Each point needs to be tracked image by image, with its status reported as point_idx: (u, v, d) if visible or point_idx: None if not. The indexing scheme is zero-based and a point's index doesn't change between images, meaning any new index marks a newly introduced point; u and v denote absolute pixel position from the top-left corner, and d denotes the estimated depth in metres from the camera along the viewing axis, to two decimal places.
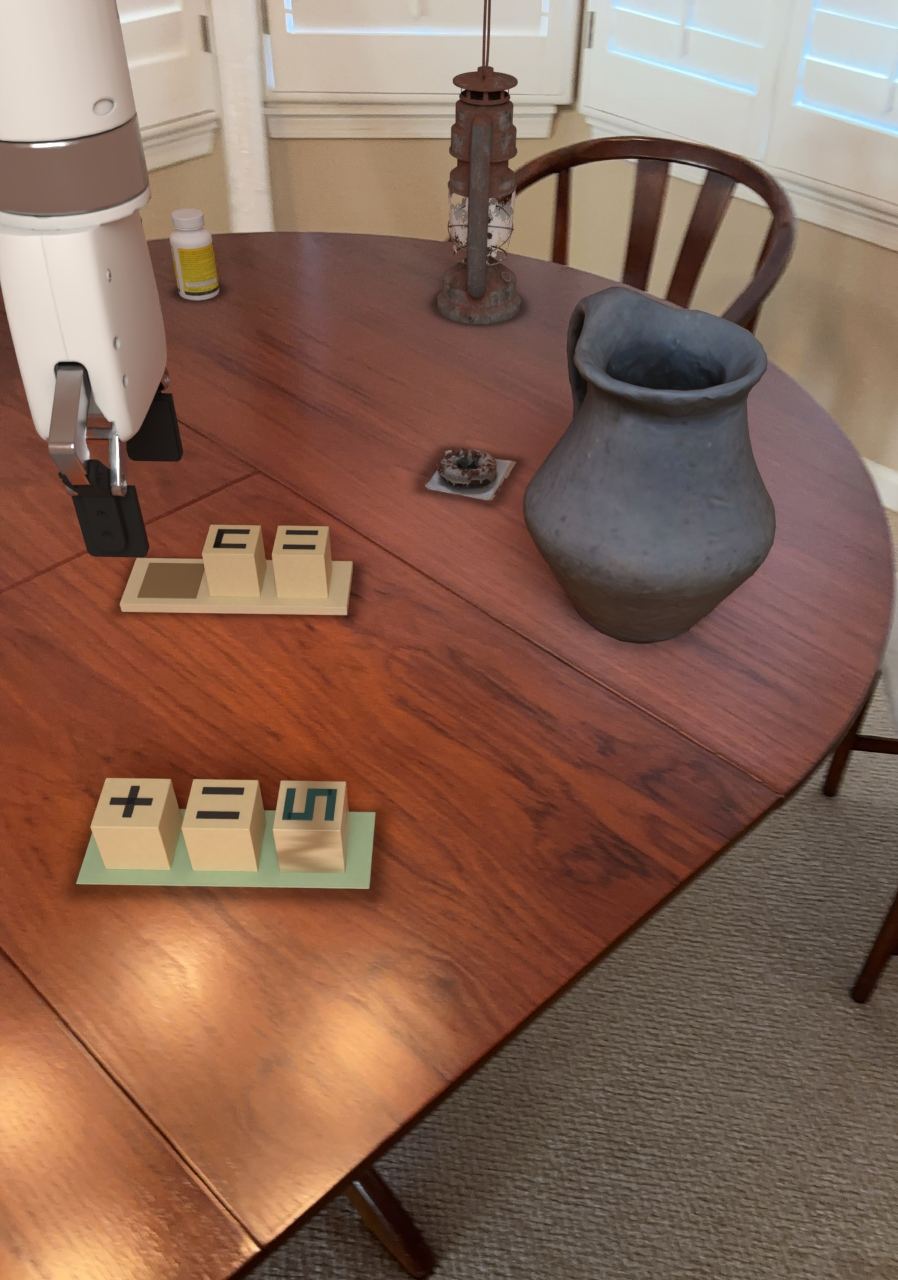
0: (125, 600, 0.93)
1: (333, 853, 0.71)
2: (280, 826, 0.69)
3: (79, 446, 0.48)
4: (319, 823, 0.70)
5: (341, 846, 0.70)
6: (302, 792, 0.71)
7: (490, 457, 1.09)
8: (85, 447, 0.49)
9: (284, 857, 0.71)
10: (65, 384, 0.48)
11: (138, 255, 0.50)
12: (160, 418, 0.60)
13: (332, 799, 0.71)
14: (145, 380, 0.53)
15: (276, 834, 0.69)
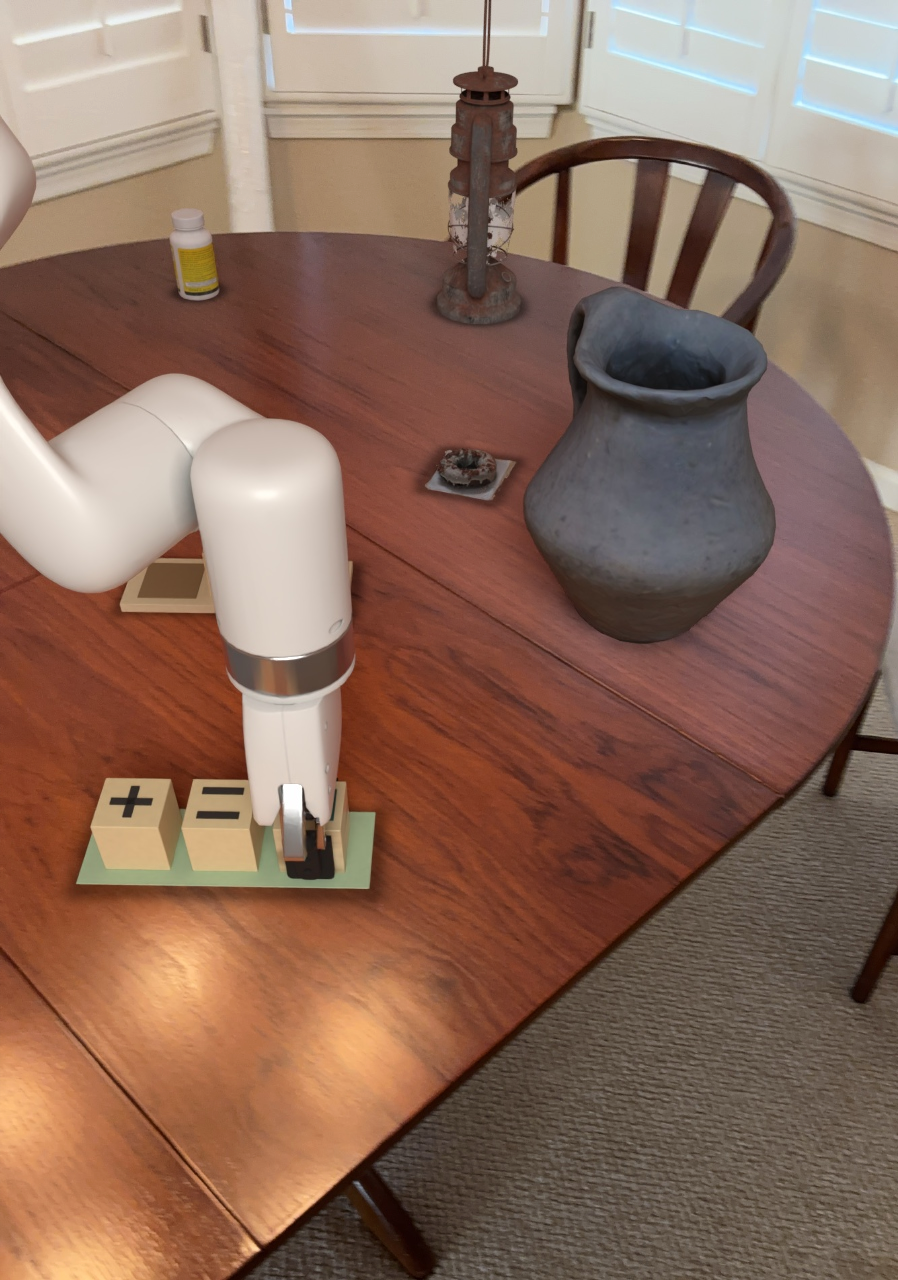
0: (125, 600, 0.93)
1: (333, 853, 0.71)
2: (280, 826, 0.69)
3: (304, 849, 0.64)
4: None
5: (341, 846, 0.70)
6: None
7: (490, 457, 1.09)
8: (306, 840, 0.65)
9: None
10: (290, 806, 0.63)
11: None
12: None
13: None
14: (336, 771, 0.66)
15: (276, 834, 0.69)
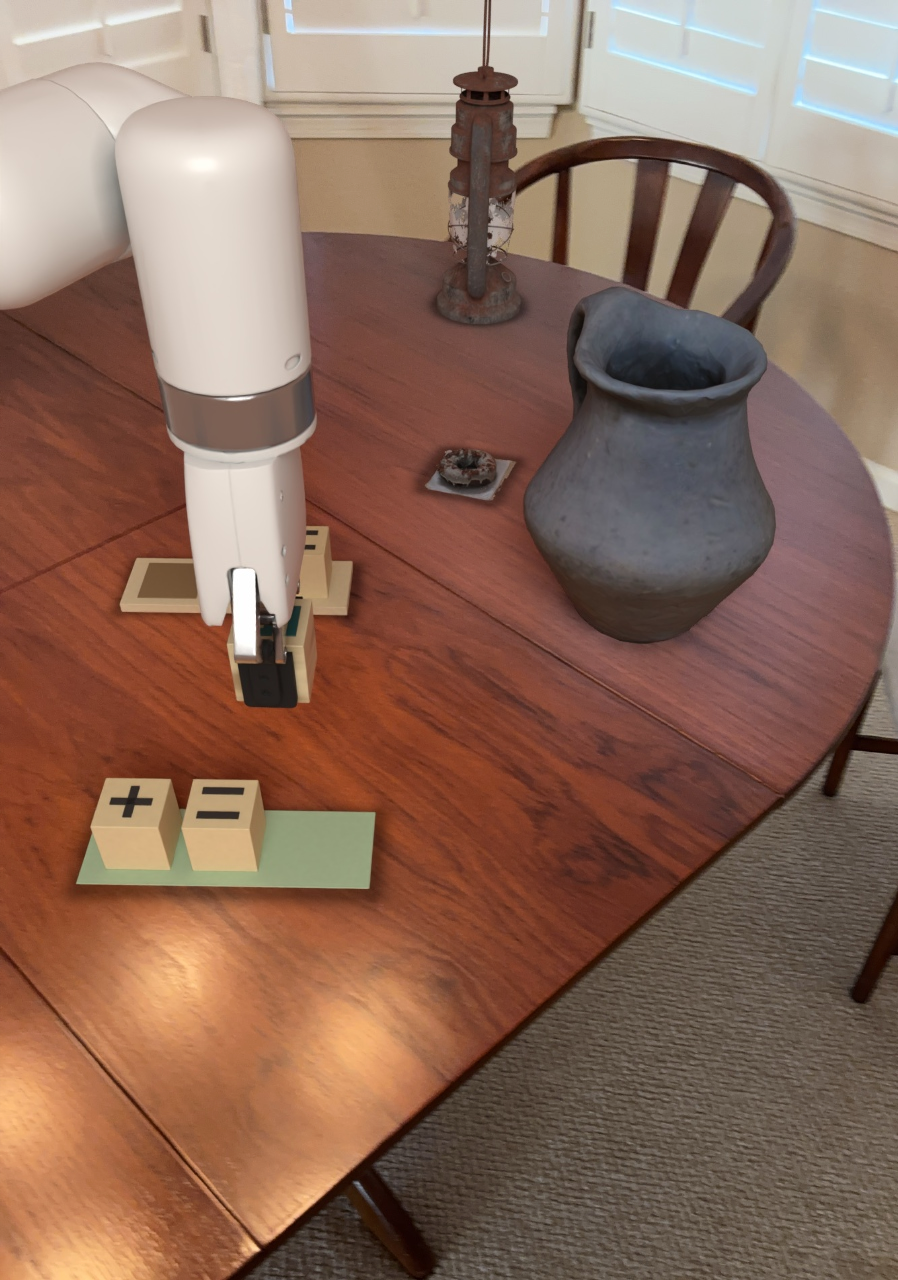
0: (125, 600, 0.93)
1: (295, 676, 0.63)
2: None
3: (258, 651, 0.56)
4: None
5: (305, 667, 0.62)
6: None
7: (490, 457, 1.09)
8: (260, 642, 0.57)
9: (240, 681, 0.63)
10: (241, 597, 0.55)
11: (298, 464, 0.56)
12: None
13: (295, 616, 0.63)
14: (297, 569, 0.58)
15: (231, 650, 0.61)
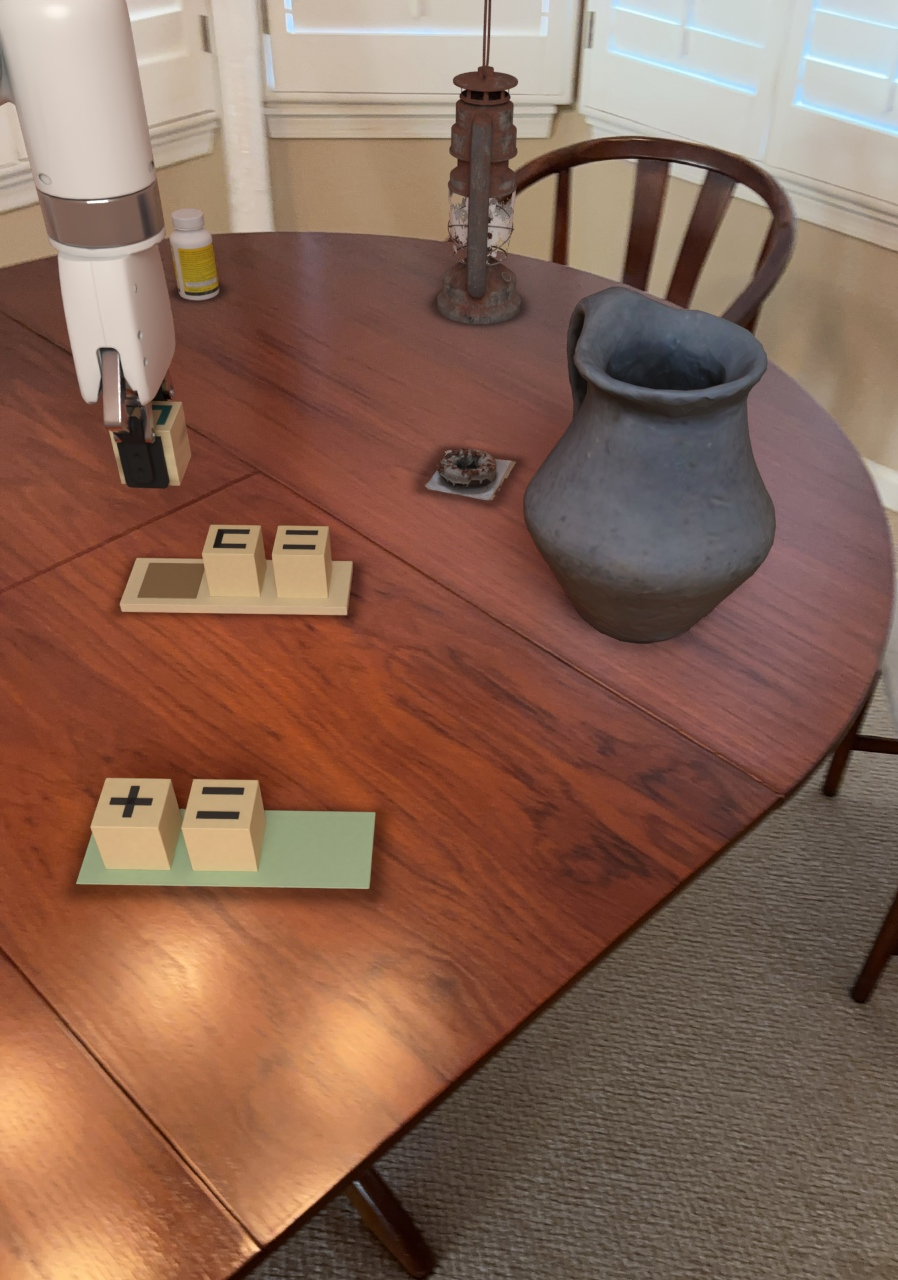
0: (125, 600, 0.93)
1: (166, 460, 0.79)
2: None
3: (124, 420, 0.72)
4: None
5: (172, 451, 0.78)
6: None
7: (490, 457, 1.09)
8: (127, 415, 0.72)
9: None
10: (109, 374, 0.71)
11: (156, 274, 0.72)
12: None
13: (167, 412, 0.79)
14: (159, 362, 0.74)
15: (112, 435, 0.77)
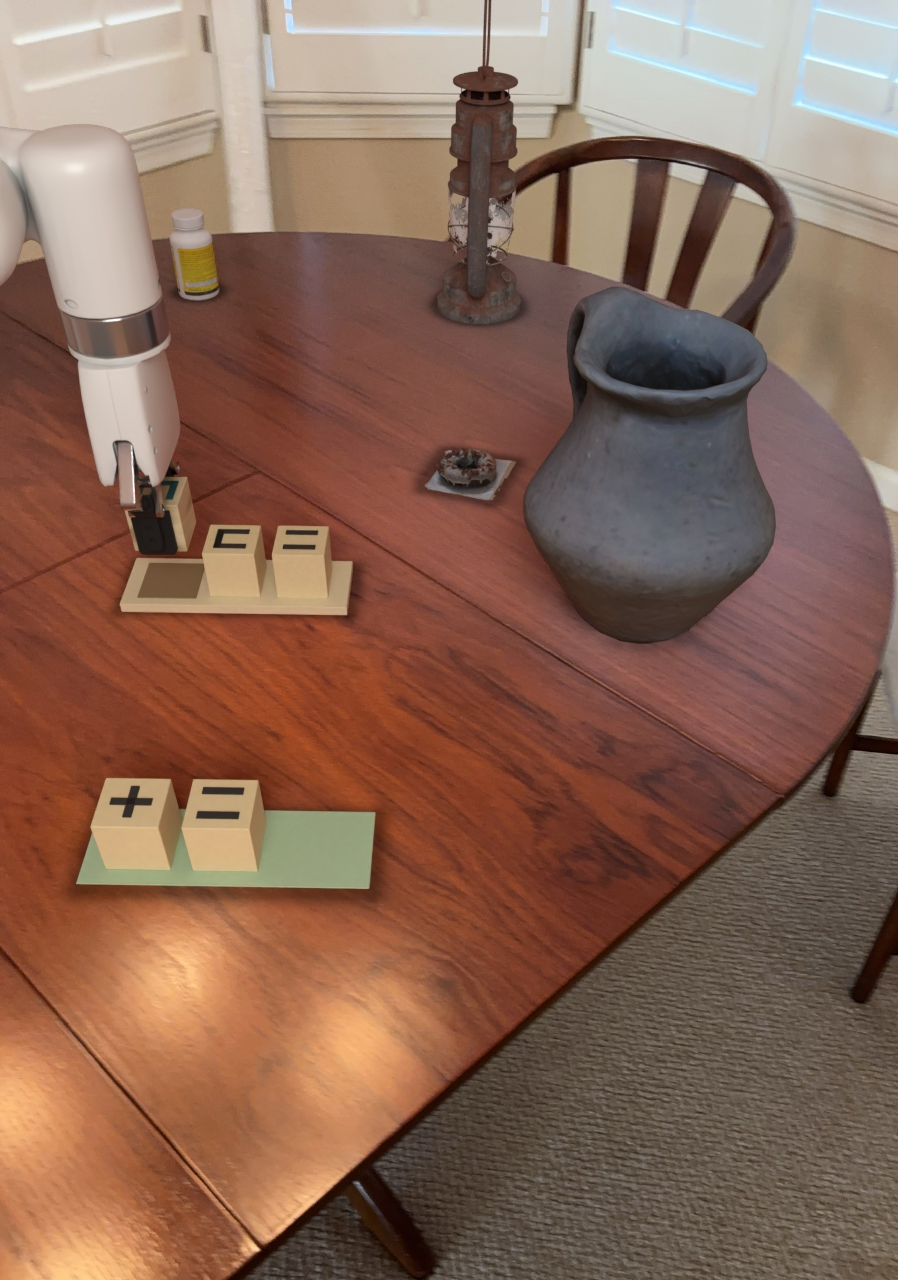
0: (125, 600, 0.93)
1: (174, 530, 0.88)
2: None
3: (137, 501, 0.82)
4: None
5: (180, 522, 0.88)
6: None
7: (490, 457, 1.09)
8: (140, 496, 0.82)
9: None
10: (123, 462, 0.81)
11: (162, 372, 0.81)
12: None
13: (174, 487, 0.89)
14: (167, 447, 0.84)
15: None
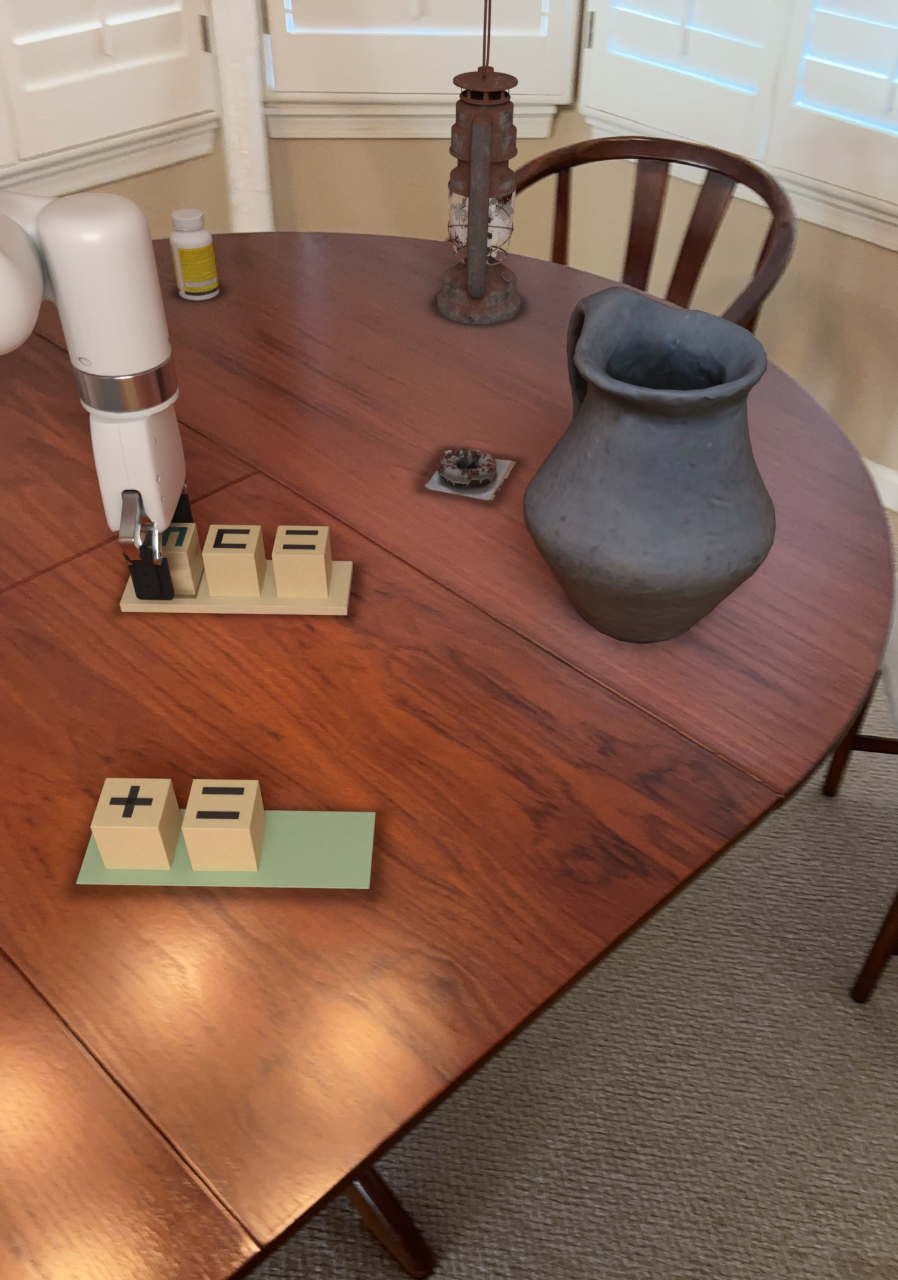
0: (125, 600, 0.93)
1: (183, 575, 0.92)
2: None
3: (136, 539, 0.82)
4: (170, 547, 0.90)
5: (189, 568, 0.91)
6: None
7: (490, 457, 1.09)
8: (139, 539, 0.83)
9: None
10: (128, 502, 0.83)
11: (170, 423, 0.85)
12: (180, 509, 0.95)
13: (183, 533, 0.92)
14: (173, 494, 0.87)
15: None
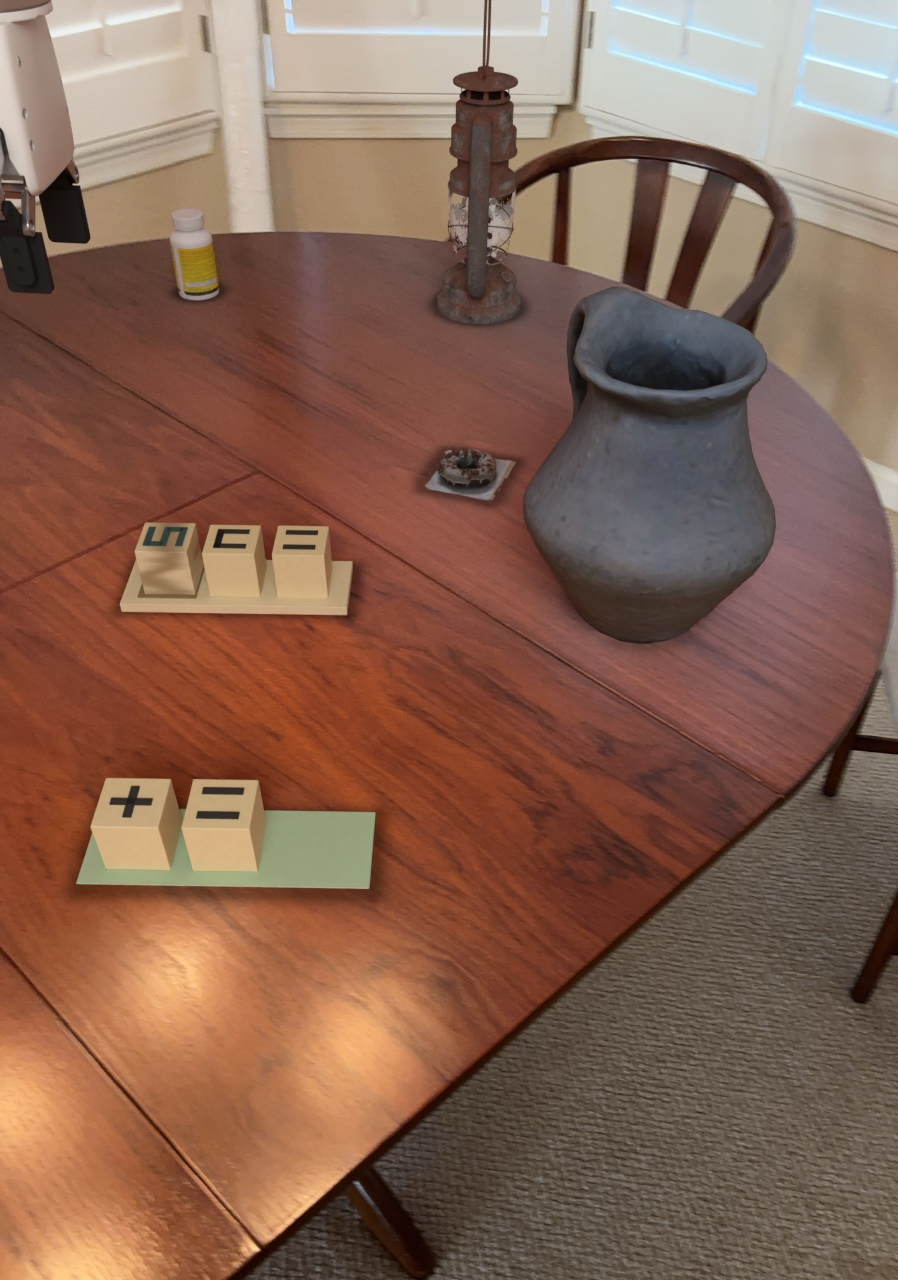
0: (125, 600, 0.93)
1: (183, 575, 0.92)
2: (140, 549, 0.90)
3: None
4: (170, 547, 0.90)
5: (189, 568, 0.91)
6: (160, 529, 0.92)
7: (490, 457, 1.09)
8: (0, 188, 0.69)
9: (146, 579, 0.92)
10: None
11: (45, 58, 0.70)
12: (71, 205, 0.80)
13: (183, 533, 0.92)
14: (50, 154, 0.73)
15: (137, 556, 0.90)
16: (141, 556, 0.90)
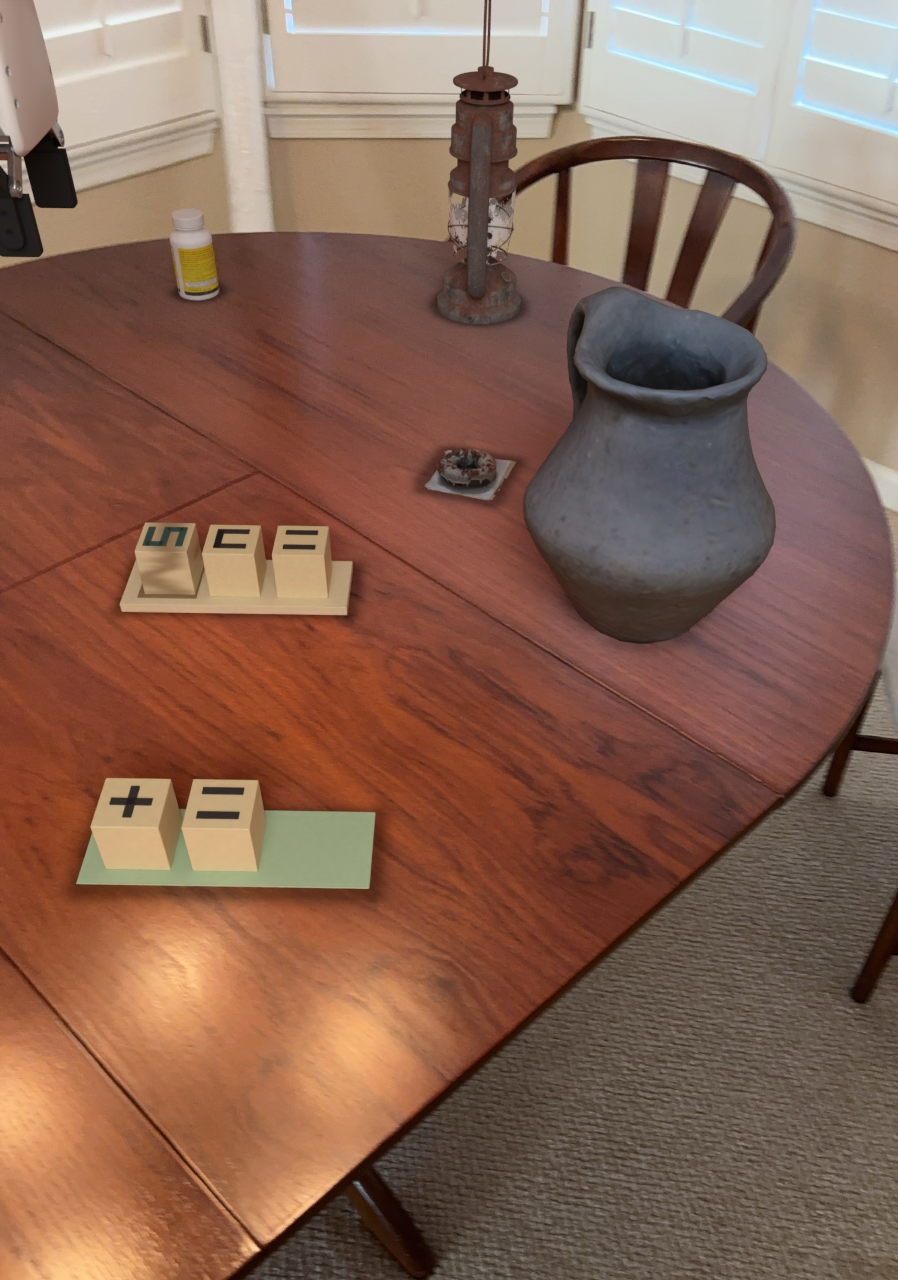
0: (125, 600, 0.93)
1: (183, 575, 0.92)
2: (140, 549, 0.90)
3: None
4: (170, 547, 0.90)
5: (189, 568, 0.91)
6: (160, 529, 0.92)
7: (490, 457, 1.09)
8: None
9: (146, 579, 0.92)
10: None
11: (26, 15, 0.70)
12: (57, 168, 0.80)
13: (183, 533, 0.92)
14: (35, 114, 0.72)
15: (137, 556, 0.90)
16: (141, 556, 0.90)
